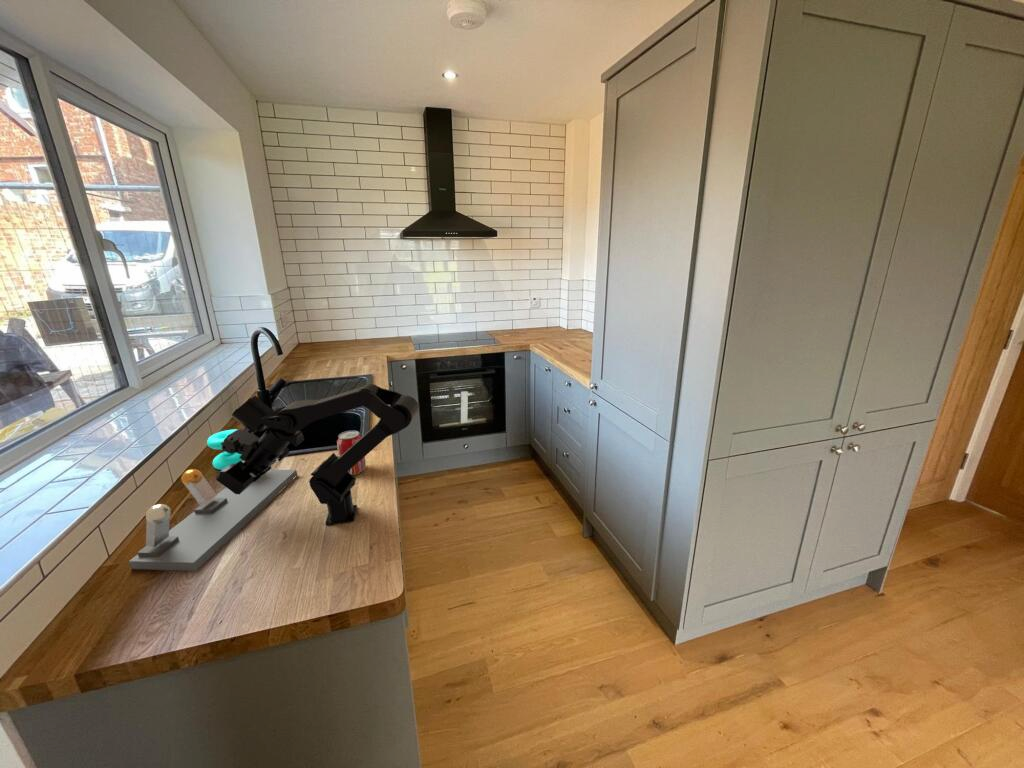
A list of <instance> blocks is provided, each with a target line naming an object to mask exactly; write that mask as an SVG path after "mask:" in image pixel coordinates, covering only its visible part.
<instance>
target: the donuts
mask: <svg viewBox="0 0 1024 768" xmlns="http://www.w3.org/2000/svg"><path fill="white" fill-rule="evenodd" d="M236 430H237V429H235V428H234V429H228V430H222V431H219V432H216V433H214V434H212V435H210V436H209V437H208V439H207V441H206V444H207V446H208V447H209V448H211V449H213V450H221V451H222V445H221V443H222V442H223V441H224V439H225V438H227V435H229V434H231V433H233V432H234V431H236ZM241 455H242V454H238V453H236V452H235V453H233V454H231V453H228V452H225V451H223V452H221V453H219V454H217V455H216V456H215V457H214V458H213V460H212V466H213V467H214V468H215V469H216V470H219V471H222V470H223V469H225V468H226V467H227V466H229V465H230V464H236V463H238V462H239V461H241V462H242V459H240V458H239V457H240V456H241Z"/></svg>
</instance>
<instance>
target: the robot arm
mask: <svg viewBox="0 0 1024 768" xmlns="http://www.w3.org/2000/svg"><path fill="white" fill-rule="evenodd" d="M419 406H420V405H419V403H418V401H417V400H416V399H415V398H414V397H413V396H410V395H405V394H401V393H399V392H398V391H395V390H391V389H387V388H384V387H383V388H382V387H380V386H379V385H376V384H373V383H367V384H365V385H363V386H361V387H358V388H355V389H351V390H348V391H345V392H341V393H338V394H335V395H330V396H327V397H325V398H321V399H311V398H310V399H303V400H296V401H294V402H292V403H290V404H289V405H284V406H280V407H278V408H277V409H275V410H273V409H272V408H271V407H269V406H268V405H267V404H265V402H263V401H262V400H261V399H260V398H259V397H258V396H256V395H253V396H251V397H249V398H248V399H247V400H246V401H245V402H244V403H242V404H241V405H240V406H239V407H237V408H236V409H235V410H234V411H233V412H232V414H231V417H232V418H233V419H235V420H236V421H237V422H238V423H240V424H241V425H242V426H244V428H246V429H247V430H248V431H245V430H244V429H236V431H234V432H233V433H231V434H229V435H227V438H225V439H224V441H223V442H222V443H221V445H222V449H221V451H223V452H228V453H231V454H233V453H235V452H236V453H238V454H242V455H241V456H240V457H239V458H240V459H242V460H243V461H245V462H244V463H243V462H241V461H239V462H238V463H236V464H230V465H229V466H227V467H226V468H225V469H223V470H219V472H218V473H217V475H216V476H215V480H216V481H217V482H218V483H219V484H221V485H223V487H225V488H226V487H227V488H228V489H229V490H231V491H232V492H233V493H235V494H241V493H242V492H243V491H244V490H245V489H247V488H248V487H249V486H250V485H251V484H252V483H254V482H255V481H256V480H258V479H259V478H260V477H261V475H263V474H265V473H266V472H268V471H269V470H272V466H273V465H274V464H275V463H276V462H277V461H278V462H281V461H283V459H285V458H286V457H287V456H288V455H289V454H290V450H289V447H288V446H289V444H291V445H292V446H293V447H298V446H299V445H300V444H301V443H302V442H303V441H305V437H304V435H303V431H301V430H302V429H304V428H306V427H308V426H309V425H311V424H313V423H314V422H316V421H318V420H321V419H324V418H327V417H331V416H334V415H337V414H341V413H344V412H345V413H346V412H347V411H351V410H354V409H358V408H360V407H361V408H362V407H365V408H366V409H369V410H370V412H372V414H374V415H375V416H376V417H377V418H378V419H379V421H378V422H377V423H376V424H375V425H374V426H372V427H371V428H370V430H368V431H367V432H366V433H365V434H364V435H363V436H361V437H362V438H361V439H359V440H358V441H357V442H356V443H355V444H354V445H353V446H352V447H350V448H349V449H348V450H347V451H346V452H345V453H344V454H343V455H341V456H339V455H336V453H335V452H332V453H331V454H330V456H328V457H327V458H326V459H325V460H323V461H322V462H321V463H320V464H319V465H318V467H316V468H315V469H314V470H313V471H312V472H311V473H310V476H311V477H310V479H309V481H308V483H309V486H310V489H311V490H312V491H313V493H314V495H315V497H316V498H317V500H318V501H319V503H320V505H326V506H327V507H326V508H327V512H328V513H327V517H326V520H325V523H324V524H325V525H326V526H332V525H337V524H343V523H345V524H346V523H350V522H354V521H355V519H356V513H357V511H358V510H357V509H358V505H357V504H354V503H353V497H352V492H351V489H353V487H354V486H355V485H356V480H357V478H356V476H355V475H351V474H350V473H349V470H350V469H351V468H352V467H353V466H354V465H356V464H357V463H358V462H359V461H360V460H361V459H362V458H363V457H365V458H366V456H367V455H369V453H371V451H373V450H374V449H375V448H376V447H377V446H378V445H380V444H381V443H383V441H384V440H386V439H387V438H388V437H391V436H392V435H393V436H394V435H395V434H397V433H400V432H401V431H402V430H404V429H406V428H407V427H408V426H410V424H411V423H412V422H413V420H414V419H415V417H416V416H417V415H418V413H419V410H420V407H419ZM249 431H250V432H249ZM263 431H265V432H264V433H263V434H262V435H261V437H258V436H257V435H256V434H255V433H257V432H259V433H261V432H263ZM277 458H278V459H277Z"/></svg>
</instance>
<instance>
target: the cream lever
mask: <svg viewBox="0 0 1024 768" xmlns="http://www.w3.org/2000/svg"><path fill="white" fill-rule="evenodd" d="M171 515H172V510H171V508H170V506H169V505H167V504H164V503H158V504H154V505H152V506H150V507H149V508H148V510H147V511H146V512H145V519H146V523H145V528H146V529H145V546H151V547H156V546H157V545H158V544H159V543H161V542H162V541H163V540H165V539H166V538H167V537H169V530H170V519H171Z"/></svg>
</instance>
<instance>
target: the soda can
mask: <svg viewBox="0 0 1024 768" xmlns="http://www.w3.org/2000/svg"><path fill="white" fill-rule="evenodd" d="M337 437H338V439H337V440H336V444H337V446H336V448H337V451H338V452H337V453H338V456H341V455H343V454H344V453H345V452H346V451H347V450H348V449H349V448H350V447H352V446H353V445H354V444H355V443H356V442H357V441H358V440H359V439H361V438H362V437H363V436H361V434H360V432H359V431H358V430H346V431H343V432H341V433H339V434H338V436H337ZM366 464H367V463H366V456H365V457H363V458H362V459H361V460H360V461H359V462H358V463H357V464H356V465H354V466H353V467H352V468H351V469H350V470H349V473H350V474H351V475H353V476H355V475H358V474H361V473H362V472H363V471H364V470H365V469H366V467H367V466H366ZM360 472H361V473H360Z"/></svg>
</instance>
